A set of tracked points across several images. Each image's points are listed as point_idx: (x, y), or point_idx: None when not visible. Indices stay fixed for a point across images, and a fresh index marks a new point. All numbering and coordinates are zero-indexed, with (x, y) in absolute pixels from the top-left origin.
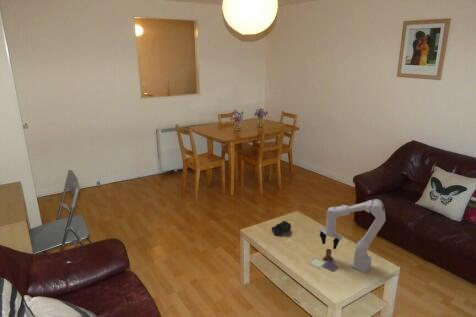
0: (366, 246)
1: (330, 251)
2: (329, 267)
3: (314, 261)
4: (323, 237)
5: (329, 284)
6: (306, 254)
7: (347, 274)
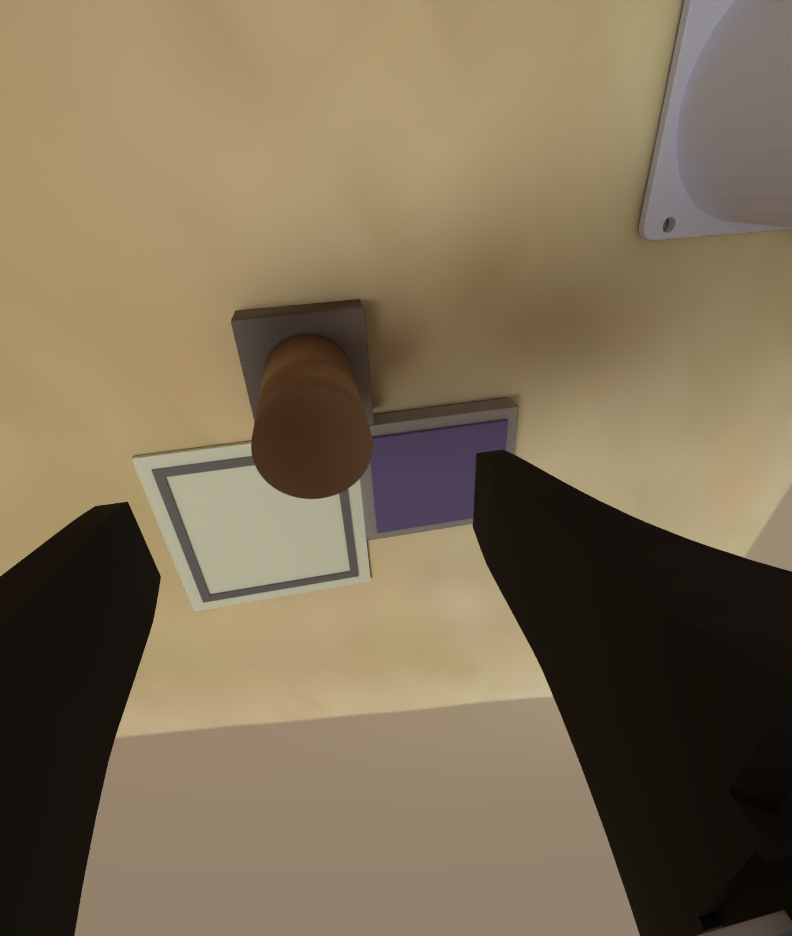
0: None
1: (366, 457)
2: (452, 515)
3: (226, 537)
4: (54, 871)
5: None
6: (8, 508)
7: (646, 416)
